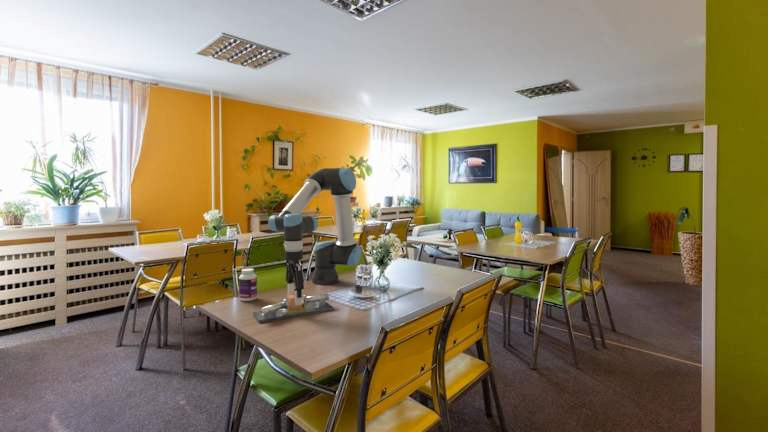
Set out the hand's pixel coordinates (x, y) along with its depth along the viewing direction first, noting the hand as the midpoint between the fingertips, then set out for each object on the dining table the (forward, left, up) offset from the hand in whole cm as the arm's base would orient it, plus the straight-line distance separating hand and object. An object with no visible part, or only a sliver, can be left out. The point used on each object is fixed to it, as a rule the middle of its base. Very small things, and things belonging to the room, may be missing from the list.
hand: (294, 301), depth 159 cm
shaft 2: (-9, 0, -4) cm, 10 cm away
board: (0, 0, -5) cm, 5 cm away
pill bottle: (+13, -29, -5) cm, 32 cm away
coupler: (0, 0, -4) cm, 4 cm away
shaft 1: (+10, +4, -4) cm, 11 cm away
